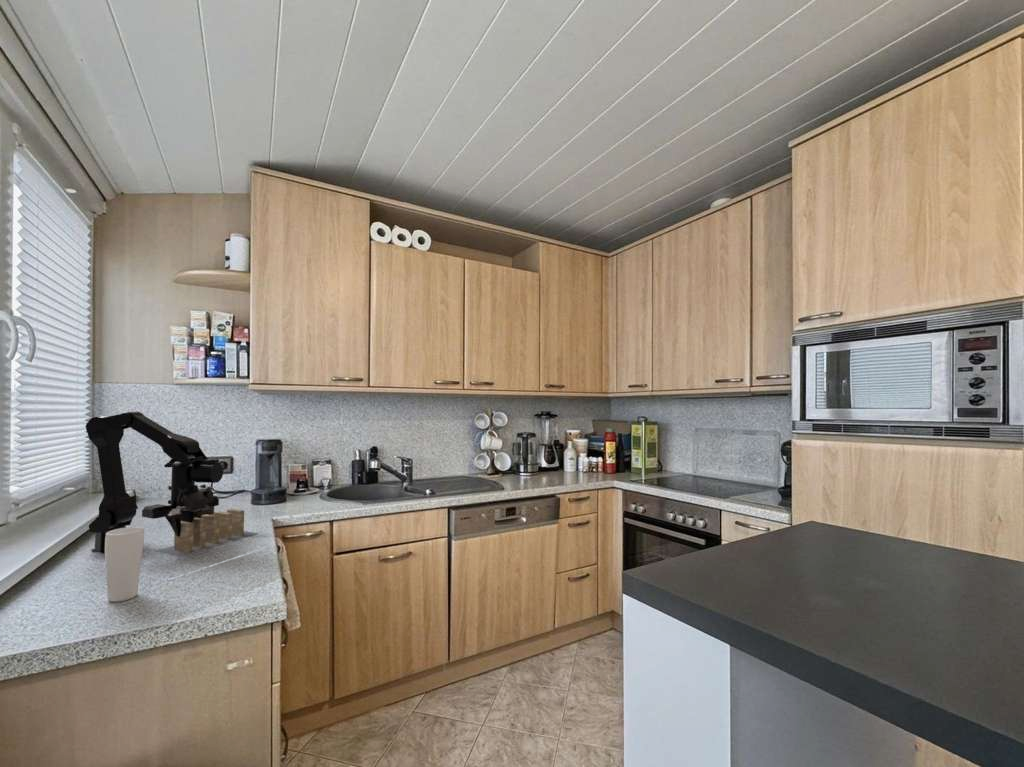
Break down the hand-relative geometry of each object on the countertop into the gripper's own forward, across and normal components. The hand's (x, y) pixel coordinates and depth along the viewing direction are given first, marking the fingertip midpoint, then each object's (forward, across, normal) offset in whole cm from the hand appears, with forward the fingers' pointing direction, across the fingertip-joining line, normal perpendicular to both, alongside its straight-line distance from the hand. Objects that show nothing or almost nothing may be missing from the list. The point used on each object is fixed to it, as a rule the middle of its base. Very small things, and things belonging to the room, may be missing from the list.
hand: (181, 535), depth 138 cm
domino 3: (+4, +8, 0) cm, 9 cm away
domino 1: (+4, 0, -1) cm, 4 cm away
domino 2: (+4, +4, 0) cm, 6 cm away
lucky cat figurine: (+5, +25, +35) cm, 43 cm away
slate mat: (+4, +8, 0) cm, 10 cm away
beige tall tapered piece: (+5, -26, -22) cm, 34 cm away
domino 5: (+4, +17, 0) cm, 17 cm away
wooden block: (+4, +13, 0) cm, 13 cm away
